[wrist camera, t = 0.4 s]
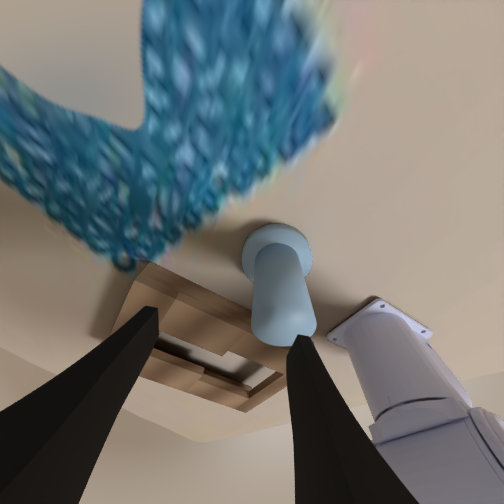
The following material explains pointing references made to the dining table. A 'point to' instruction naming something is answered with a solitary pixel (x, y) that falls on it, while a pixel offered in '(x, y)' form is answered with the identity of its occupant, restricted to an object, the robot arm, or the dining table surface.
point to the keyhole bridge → (202, 338)
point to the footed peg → (279, 283)
